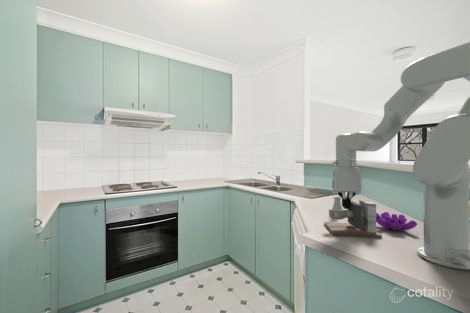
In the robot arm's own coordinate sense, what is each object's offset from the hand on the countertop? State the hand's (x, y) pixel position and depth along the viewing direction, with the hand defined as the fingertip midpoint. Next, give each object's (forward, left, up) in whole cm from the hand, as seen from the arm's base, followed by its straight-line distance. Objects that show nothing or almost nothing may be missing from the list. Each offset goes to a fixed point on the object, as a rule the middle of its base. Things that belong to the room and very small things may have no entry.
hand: (346, 208), depth 87 cm
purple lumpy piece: (+6, -20, -10) cm, 23 cm away
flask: (+22, -3, -10) cm, 24 cm away
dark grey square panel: (0, -3, -7) cm, 7 cm away
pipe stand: (0, -1, -9) cm, 9 cm away
